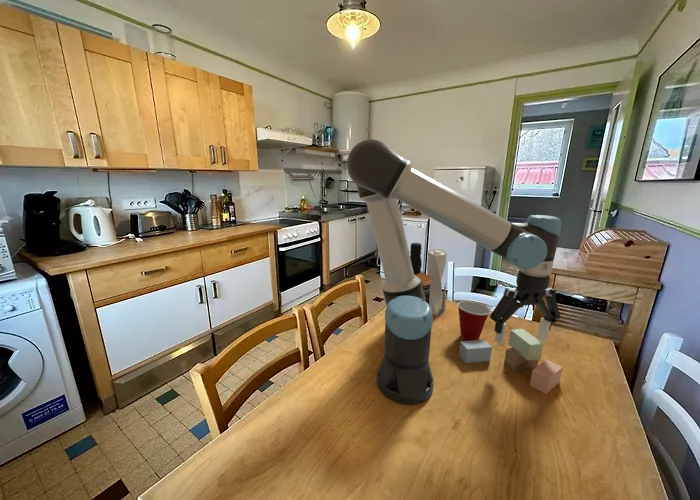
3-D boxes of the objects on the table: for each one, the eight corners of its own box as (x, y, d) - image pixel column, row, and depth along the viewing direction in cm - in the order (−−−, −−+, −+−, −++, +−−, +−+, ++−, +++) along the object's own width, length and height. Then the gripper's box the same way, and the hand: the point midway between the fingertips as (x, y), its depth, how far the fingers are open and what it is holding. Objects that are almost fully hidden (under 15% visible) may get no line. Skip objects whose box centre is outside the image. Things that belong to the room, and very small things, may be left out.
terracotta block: (545, 394, 74) (549, 378, 73) (529, 385, 77) (532, 369, 76) (559, 382, 78) (562, 367, 77) (543, 374, 81) (546, 359, 80)
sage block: (540, 359, 80) (543, 343, 79) (527, 360, 80) (530, 344, 78) (520, 343, 88) (522, 328, 86) (508, 344, 87) (510, 329, 86)
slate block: (465, 363, 86) (467, 349, 85) (458, 355, 90) (460, 341, 89) (490, 361, 87) (492, 347, 86) (482, 353, 91) (484, 339, 90)
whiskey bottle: (392, 324, 108) (395, 242, 100) (409, 316, 114) (414, 239, 106) (413, 336, 100) (419, 248, 92) (430, 327, 106) (437, 244, 98)
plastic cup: (494, 341, 97) (499, 309, 94) (470, 349, 93) (475, 316, 90) (469, 326, 107) (473, 297, 103) (447, 333, 102) (450, 302, 99)
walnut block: (513, 371, 82) (516, 356, 81) (504, 363, 86) (506, 348, 85) (537, 367, 84) (540, 353, 83) (526, 359, 88) (529, 345, 87)
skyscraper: (440, 319, 113) (446, 251, 105) (420, 314, 117) (425, 248, 109) (445, 310, 120) (451, 246, 112) (426, 306, 124) (431, 243, 116)
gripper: (500, 278, 72) (488, 351, 78) (587, 276, 75) (569, 346, 81) (483, 269, 79) (473, 336, 85) (563, 267, 83) (548, 332, 88)
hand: (520, 341), depth 83 cm, fingers open, 13 cm apart
